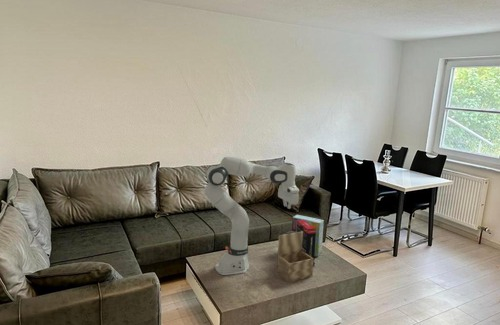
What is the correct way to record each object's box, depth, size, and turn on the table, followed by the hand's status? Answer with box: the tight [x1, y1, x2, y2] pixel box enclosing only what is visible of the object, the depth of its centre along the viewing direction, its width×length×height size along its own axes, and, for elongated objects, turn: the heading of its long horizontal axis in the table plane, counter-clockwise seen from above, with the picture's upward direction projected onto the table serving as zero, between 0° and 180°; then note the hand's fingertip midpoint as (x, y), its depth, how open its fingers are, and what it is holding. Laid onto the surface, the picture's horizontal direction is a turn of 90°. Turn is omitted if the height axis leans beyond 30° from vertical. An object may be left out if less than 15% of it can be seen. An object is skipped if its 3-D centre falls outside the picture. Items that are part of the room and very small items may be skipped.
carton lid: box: [277, 230, 303, 256], centre depth 228 cm, size 18×13×5 cm
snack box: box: [291, 214, 325, 258], centre depth 255 cm, size 22×9×26 cm, turn 58°
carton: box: [277, 250, 315, 283], centre depth 223 cm, size 18×13×12 cm
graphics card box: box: [297, 220, 316, 267], centre depth 240 cm, size 17×7×27 cm, turn 18°
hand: (287, 207), depth 233 cm, fingers open, 3 cm apart
